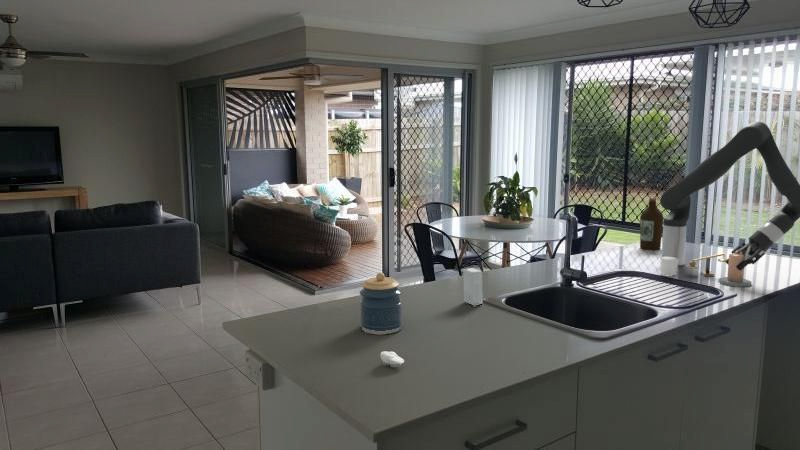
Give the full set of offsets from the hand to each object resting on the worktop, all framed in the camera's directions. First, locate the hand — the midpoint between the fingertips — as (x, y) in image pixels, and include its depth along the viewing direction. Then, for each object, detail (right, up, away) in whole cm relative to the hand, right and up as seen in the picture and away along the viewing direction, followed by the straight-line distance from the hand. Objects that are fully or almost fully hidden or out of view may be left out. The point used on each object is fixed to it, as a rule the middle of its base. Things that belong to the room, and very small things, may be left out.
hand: (732, 266), depth 227 cm
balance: (-2, -4, +14) cm, 15 cm away
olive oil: (-2, +4, +69) cm, 70 cm away
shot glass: (-17, -5, +16) cm, 24 cm away
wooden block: (+2, -6, +1) cm, 6 cm away
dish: (+1, -7, +1) cm, 7 cm away
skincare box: (-102, -12, -21) cm, 105 cm away
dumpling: (-130, -21, -75) cm, 151 cm away
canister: (-133, -16, -45) cm, 142 cm away
